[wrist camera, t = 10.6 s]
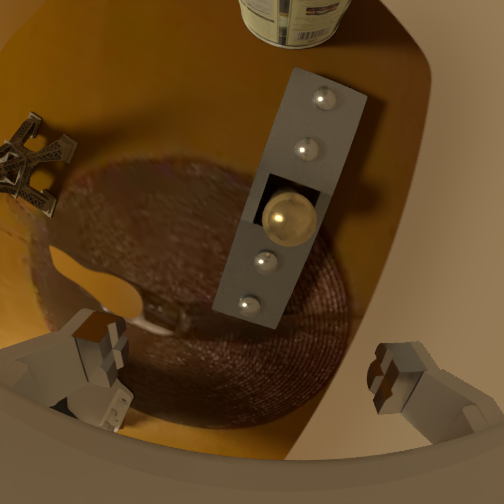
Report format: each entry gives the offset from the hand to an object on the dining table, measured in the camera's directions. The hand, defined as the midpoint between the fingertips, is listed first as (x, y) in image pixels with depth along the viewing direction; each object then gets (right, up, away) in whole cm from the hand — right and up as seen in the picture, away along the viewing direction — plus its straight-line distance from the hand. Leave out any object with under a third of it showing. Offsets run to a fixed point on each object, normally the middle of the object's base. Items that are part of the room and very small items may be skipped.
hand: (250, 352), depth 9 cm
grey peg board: (+3, +8, +20) cm, 22 cm away
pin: (+3, +8, +20) cm, 22 cm away
